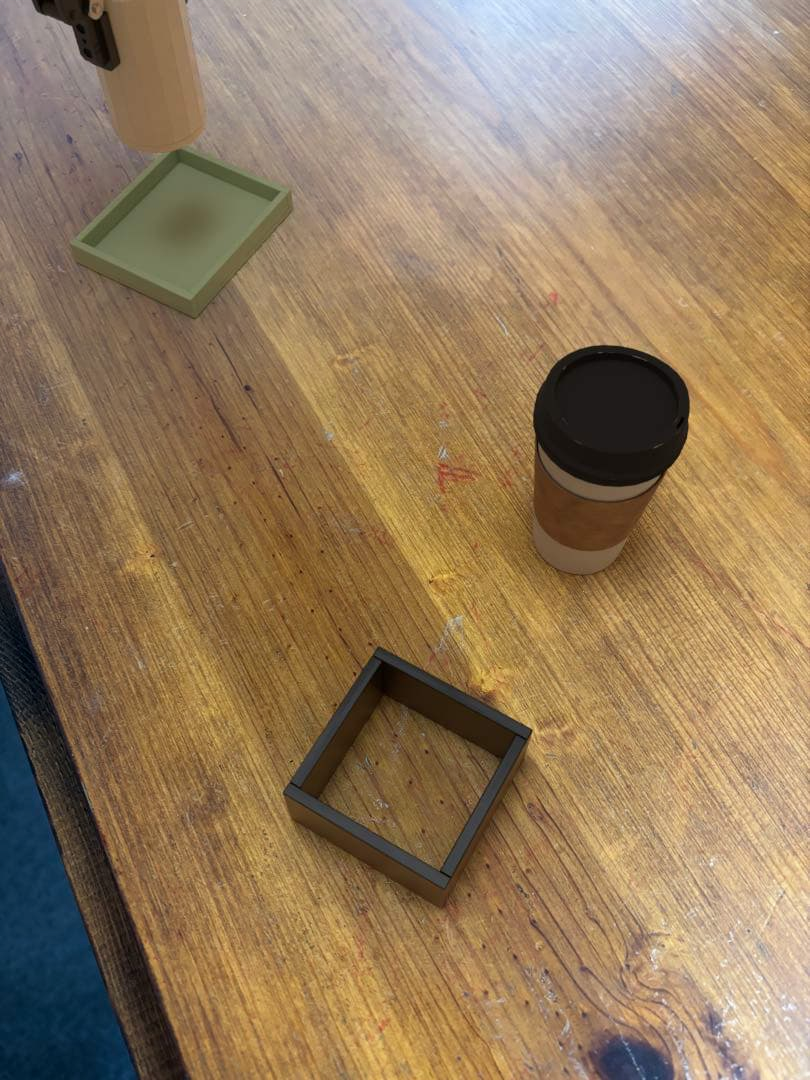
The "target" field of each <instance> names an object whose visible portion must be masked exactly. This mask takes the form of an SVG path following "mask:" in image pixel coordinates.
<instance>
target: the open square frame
mask: <svg viewBox="0 0 810 1080" xmlns="http://www.w3.org/2000/svg"><path fill="white" fill-rule="evenodd" d="M376 647H377V648H376V649H375V650H374V652H373V653H372V655H371V656H370V658H369V660H368V661H367V663H366V664H365V665H364V667H363V669H362V670H361V671H360V673H359V674H358V676H357V678H356V679H355V681H354V682H353V683H352V685H351V686H350V688H349V690H348V692H347V693H346V694H345V696H344V697H343V699H342V701H341V703H339V705H338V707H337V708H336V710H335V712H334V713H333V714H332V716H331V717H330V719H329V721H327V724H326V725H325V727H324V728H323V729H322V731H321V733H320V734H319V736H318V738H317V739H316V740H315V742H314V743H313V745H312V746H311V748H310V749H309V751H308V753H307V754H306V755H305V758H304V759H303V760H302V761H301V763H300V765H299V767H297V768H298V769H297V770H296V771H295V772H294V774H293V775H292V777H291V779H290V780H289V782H288V783H287V785H286V787H285V788H284V790H283V791H282V795H283V799H284V801H285V804H286V807H287V810H288V813H289V816H290V819H291V820H293V821H295V822H296V823H298V824H300V825H301V826H303V827H304V828H306V829H308V830H309V831H311V832H313V833H314V834H316V835H318V836H319V837H321V838H322V839H324V840H326V841H328V842H329V843H331V844H333V846H336V847H338V848H339V849H341V850H342V851H344V852H346V853H347V854H349V855H351V856H352V857H354V858H356V859H357V860H359V861H361V862H362V863H364V864H365V865H367V866H368V867H370V868H372V869H374V870H375V871H377V872H379V873H380V874H382V875H384V876H385V877H387V878H388V879H391V880H392V881H393V882H395V883H397V884H399V885H400V886H402V887H404V888H405V889H407V890H409V891H410V892H412V893H414V894H415V895H417V896H419V898H422V899H424V900H425V901H426V902H428V903H430V904H431V905H434V906H435V907H437V908H438V909H440V910H442V909H443V908H444V907H445V905H446V903H447V901H448V899H449V898H450V895H451V894H452V892H453V890H454V889H455V886H456V884H457V883H458V881H459V879H460V878H461V876H462V874H463V872H464V870H465V868H466V866H467V864H468V862H469V861H470V859H471V857H472V855H473V853H474V852H475V850H476V848H477V846H478V844H479V843H480V841H481V839H482V837H483V835H484V833H485V832H486V830H487V828H488V827H489V825H490V823H491V821H492V819H493V817H494V815H495V813H496V811H497V810H498V808H499V806H500V804H501V803H502V801H503V799H504V797H505V795H506V793H507V792H508V789H509V788H510V787H511V784H512V782H513V781H514V779H515V777H516V775H517V773H518V771H519V769H520V768H521V766H522V764H523V762H524V761H525V758H526V755H527V752H528V748H529V746H530V745H529V744H530V741H531V738H532V734H533V731H534V729H533V728H531V727H529V726H528V725H526V724H524V723H522V722H520V721H518V720H516V719H514V718H513V717H511V716H509V715H507V714H505V713H504V712H502V711H499V710H498V709H496V708H494V707H492V706H490V705H489V704H487V703H485V702H483V701H481V700H479V699H478V698H476V697H474V696H472V695H471V694H468V693H467V692H465V691H463V690H461V689H459V688H457V687H456V686H453V685H452V684H450V683H448V682H446V681H444V680H442V679H441V678H439V677H437V676H435V675H434V674H431V673H430V672H427V671H426V670H424V669H422V668H420V667H418V666H417V665H414V664H413V663H411V662H409V661H407V660H406V659H404V658H402V657H400V656H398V655H397V654H394V653H393V652H392V651H389V650H387V649H385V648H384V647H381V646H380V645H378V646H376ZM384 695H386V696H388V697H389V698H392V699H393V700H394V701H397V702H398V703H401V704H402V705H404V706H406V707H408V708H409V709H411V710H413V711H415V712H416V713H418V714H420V715H422V716H423V717H426V718H428V719H429V720H431V721H433V722H434V723H436V724H439V725H440V726H442V727H444V728H445V729H447V730H449V731H451V732H452V733H454V734H456V735H458V736H460V737H461V738H464V739H465V740H467V741H469V742H471V743H473V744H475V745H476V746H478V747H479V748H481V749H483V750H485V751H487V752H488V753H491V754H493V755H494V756H496V757H497V758H500V759H501V760H500V762H499V764H498V765H497V767H496V769H495V771H494V772H493V774H492V776H491V778H490V780H489V781H488V783H487V785H486V787H485V789H484V791H483V793H482V794H481V796H480V797H479V799H478V801H477V803H476V805H475V807H474V808H473V811H472V812H471V814H470V816H469V817H468V819H467V820H466V823H465V825H464V827H463V828H462V829H461V832H460V834H459V835H458V837H457V839H456V840H455V842H454V844H453V846H452V848H451V850H450V851H449V854H448V855H447V857H446V859H445V861H444V862H443V864H442V866H441V868H440V869H439V870H438V869H436V868H435V867H433V866H431V865H430V864H428V863H426V862H424V861H423V860H422V859H420V858H418V857H416V856H415V855H413V854H411V853H409V852H408V851H407V850H404V849H403V848H401V847H400V846H398V845H396V844H394V843H393V842H391V841H389V840H387V839H386V838H384V837H382V836H381V835H380V834H377V833H376V832H375V831H373V830H371V829H370V828H367V827H366V826H364V825H363V824H361V823H359V822H357V821H356V820H354V819H353V818H350V817H349V816H347V815H346V814H344V813H342V812H341V811H339V810H337V809H336V808H334V807H332V806H330V805H329V804H327V803H326V802H323V801H322V800H320V799H319V798H320V795H321V794H322V793H323V791H324V789H325V788H326V786H327V785H328V783H329V781H330V780H331V778H332V777H333V775H334V774H335V772H336V771H337V769H338V767H339V766H340V764H341V763H342V761H343V759H344V758H345V756H346V755H347V753H348V752H349V750H350V749H351V747H352V745H353V743H354V742H355V741H356V739H357V738H358V736H359V735H360V733H361V731H362V730H363V728H364V727H365V725H366V723H367V722H368V720H369V718H370V717H371V715H372V714H373V712H374V710H375V709H376V708H377V706H378V704H379V702H380V701H381V699H382V698H383V696H384Z"/></svg>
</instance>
